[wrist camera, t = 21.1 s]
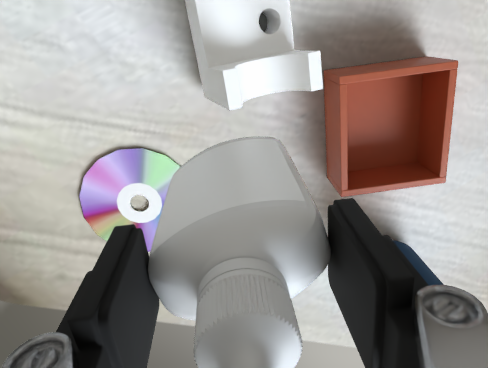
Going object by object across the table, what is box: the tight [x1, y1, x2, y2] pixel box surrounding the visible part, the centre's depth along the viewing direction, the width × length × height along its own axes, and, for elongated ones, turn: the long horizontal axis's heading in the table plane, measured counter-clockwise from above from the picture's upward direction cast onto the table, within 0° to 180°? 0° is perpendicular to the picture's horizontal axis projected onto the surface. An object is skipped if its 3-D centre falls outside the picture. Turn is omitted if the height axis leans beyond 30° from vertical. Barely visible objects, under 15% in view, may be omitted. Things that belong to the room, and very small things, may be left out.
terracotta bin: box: [323, 56, 458, 197], centre depth 32 cm, size 10×9×5 cm
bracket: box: [185, 0, 323, 111], centre depth 26 cm, size 13×7×8 cm, turn 9°
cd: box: [79, 148, 180, 252], centre depth 36 cm, size 11×11×1 cm
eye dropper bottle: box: [148, 137, 331, 368], centre depth 12 cm, size 4×6×12 cm
